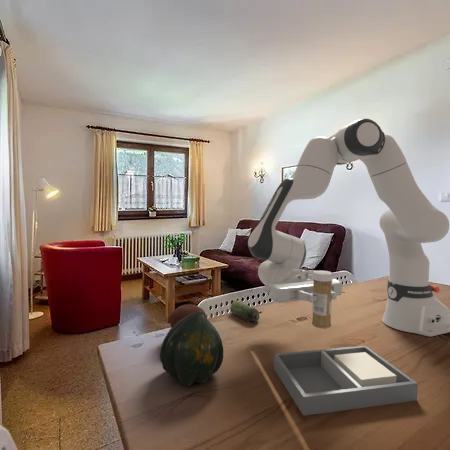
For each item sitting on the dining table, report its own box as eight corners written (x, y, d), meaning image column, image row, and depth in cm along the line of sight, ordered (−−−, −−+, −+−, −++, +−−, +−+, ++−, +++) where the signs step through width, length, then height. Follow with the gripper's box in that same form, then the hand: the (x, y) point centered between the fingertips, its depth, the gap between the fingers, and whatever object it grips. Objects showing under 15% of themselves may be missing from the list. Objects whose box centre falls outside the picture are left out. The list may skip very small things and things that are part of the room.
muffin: (189, 328, 95) (189, 297, 95) (215, 338, 88) (215, 305, 88) (159, 341, 86) (159, 307, 85) (185, 353, 79) (185, 316, 78)
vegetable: (227, 313, 109) (227, 300, 108) (239, 310, 111) (239, 297, 111) (251, 326, 97) (251, 311, 97) (263, 323, 100) (263, 308, 99)
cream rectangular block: (364, 366, 71) (365, 352, 71) (395, 392, 61) (396, 375, 61) (334, 369, 69) (334, 355, 69) (360, 396, 60) (361, 379, 59)
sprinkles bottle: (335, 326, 72) (336, 272, 71) (322, 330, 70) (324, 274, 69) (319, 320, 76) (321, 269, 75) (307, 324, 74) (309, 271, 73)
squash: (149, 375, 59) (198, 314, 62) (147, 344, 74) (186, 296, 76) (202, 411, 62) (246, 352, 65) (190, 375, 77) (226, 328, 79)
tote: (364, 362, 74) (365, 345, 74) (416, 405, 58) (417, 383, 58) (273, 372, 70) (273, 354, 70) (303, 420, 54) (303, 397, 54)
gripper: (260, 275, 81) (287, 289, 68) (322, 270, 88) (357, 281, 75) (259, 298, 81) (286, 315, 68) (321, 291, 88) (356, 306, 75)
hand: (324, 297), depth 72 cm, fingers closed on sprinkles bottle, 4 cm apart
